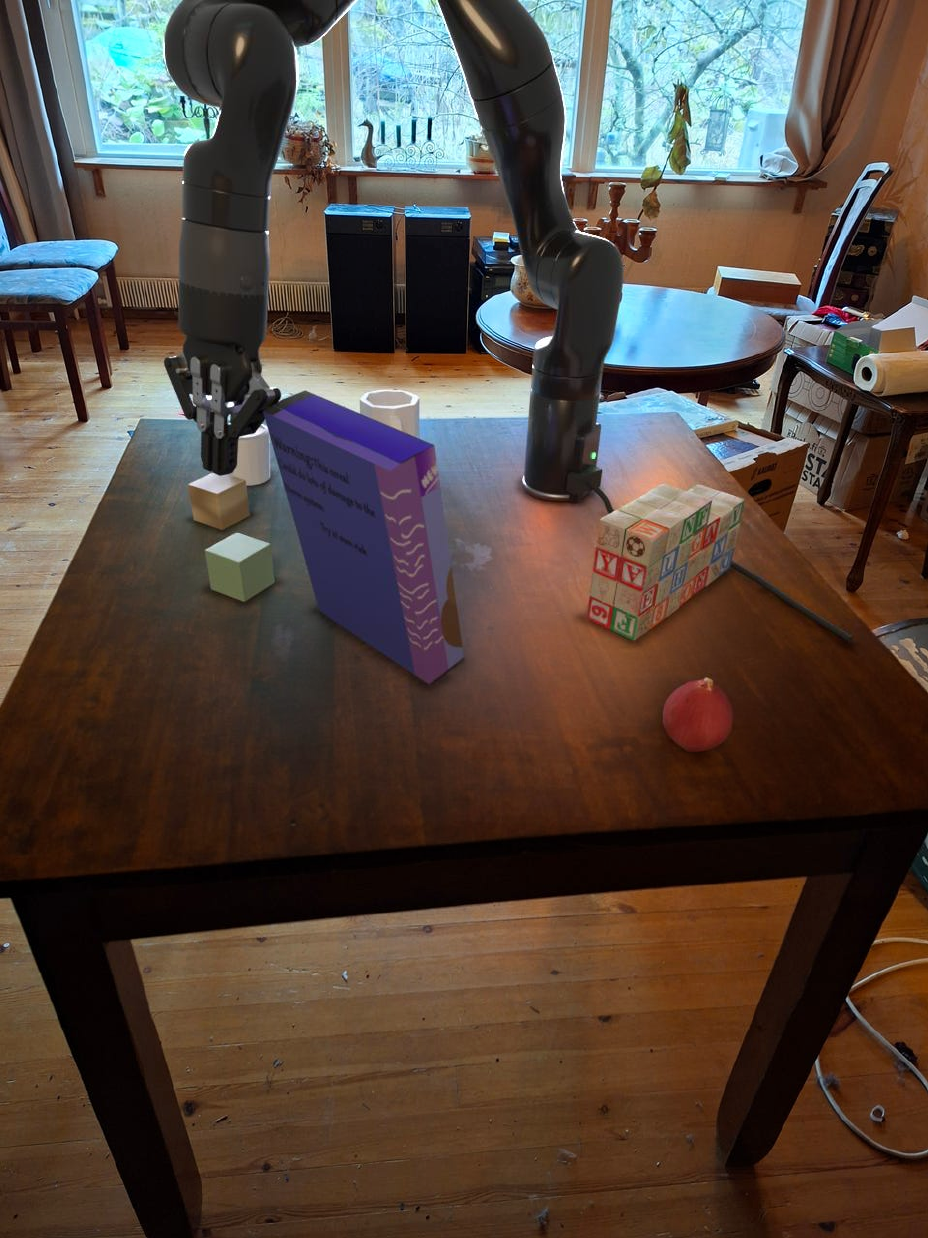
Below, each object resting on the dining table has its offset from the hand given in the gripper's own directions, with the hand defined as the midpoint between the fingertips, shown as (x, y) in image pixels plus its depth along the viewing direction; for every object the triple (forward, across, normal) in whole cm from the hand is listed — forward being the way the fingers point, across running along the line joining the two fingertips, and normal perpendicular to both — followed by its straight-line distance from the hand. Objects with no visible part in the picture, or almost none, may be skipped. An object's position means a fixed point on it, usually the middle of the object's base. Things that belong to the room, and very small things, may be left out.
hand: (218, 470), depth 80 cm
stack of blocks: (+9, -37, -32) cm, 50 cm away
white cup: (+14, +23, -28) cm, 39 cm away
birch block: (+15, +17, -17) cm, 28 cm away
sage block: (+16, +2, -6) cm, 17 cm away
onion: (+12, -49, -9) cm, 51 cm away
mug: (+11, +9, -42) cm, 45 cm away
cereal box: (+14, -17, -8) cm, 23 cm away
